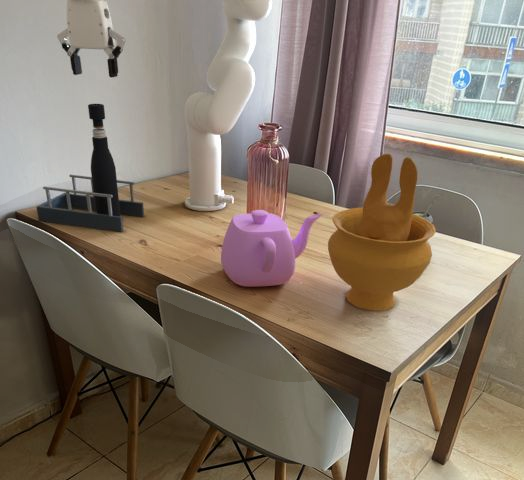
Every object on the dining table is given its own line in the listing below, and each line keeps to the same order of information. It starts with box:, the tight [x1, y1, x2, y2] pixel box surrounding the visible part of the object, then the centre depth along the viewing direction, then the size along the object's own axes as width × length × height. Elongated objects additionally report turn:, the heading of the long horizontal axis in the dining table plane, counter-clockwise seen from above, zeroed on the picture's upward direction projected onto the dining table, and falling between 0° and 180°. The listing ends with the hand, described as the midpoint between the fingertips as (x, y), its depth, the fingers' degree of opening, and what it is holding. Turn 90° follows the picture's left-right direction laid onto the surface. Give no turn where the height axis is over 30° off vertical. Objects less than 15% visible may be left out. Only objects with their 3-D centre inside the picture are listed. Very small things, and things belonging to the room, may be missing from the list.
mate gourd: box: [412, 193, 444, 242], centre depth 144 cm, size 8×8×15 cm
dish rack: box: [36, 174, 145, 233], centre depth 152 cm, size 25×14×10 cm, turn 76°
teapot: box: [220, 209, 323, 287], centre depth 121 cm, size 23×21×15 cm
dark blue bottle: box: [87, 103, 121, 216], centre depth 145 cm, size 6×6×30 cm
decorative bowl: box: [327, 153, 437, 312], centre depth 111 cm, size 21×21×30 cm
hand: (95, 75), depth 135 cm, fingers open, 9 cm apart
